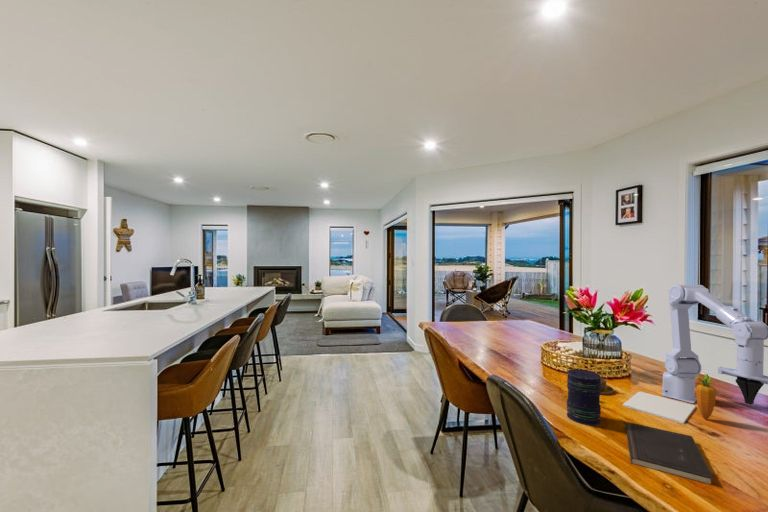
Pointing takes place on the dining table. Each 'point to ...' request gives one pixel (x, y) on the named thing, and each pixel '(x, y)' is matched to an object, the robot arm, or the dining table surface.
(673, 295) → the robot arm
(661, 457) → the hardcover book
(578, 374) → the storage jar
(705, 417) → the carrot
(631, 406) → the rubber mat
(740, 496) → the dining table surface
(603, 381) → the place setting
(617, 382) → the dining table surface
